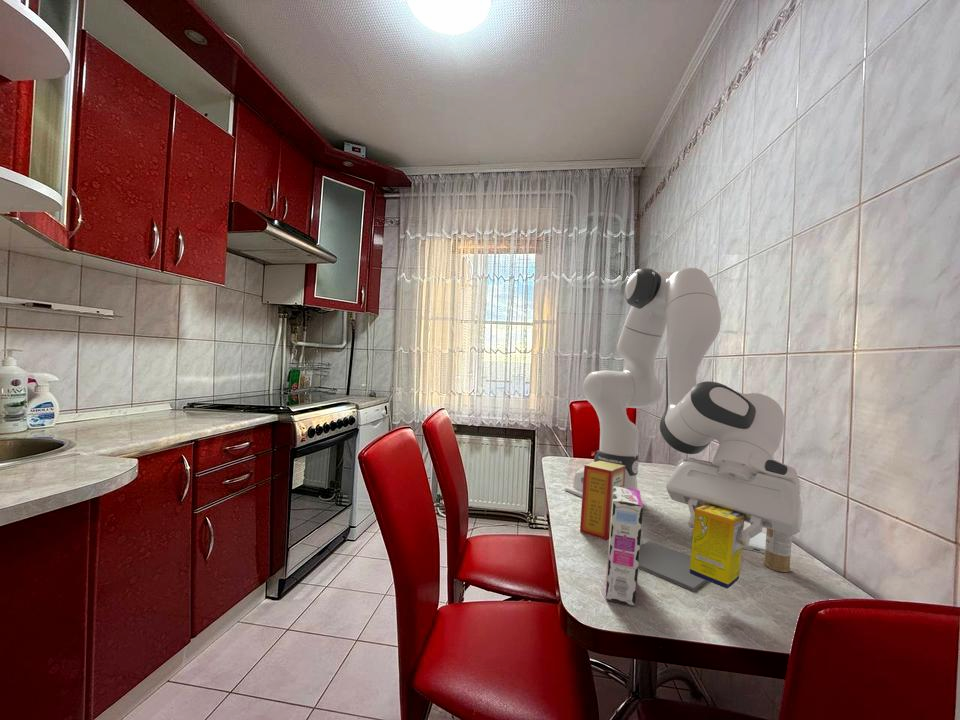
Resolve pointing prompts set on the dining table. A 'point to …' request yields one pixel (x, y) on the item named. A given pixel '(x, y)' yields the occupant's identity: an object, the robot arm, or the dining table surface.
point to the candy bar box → (624, 546)
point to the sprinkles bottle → (778, 550)
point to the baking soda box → (599, 496)
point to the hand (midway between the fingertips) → (716, 534)
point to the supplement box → (716, 545)
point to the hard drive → (757, 543)
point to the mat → (668, 565)
